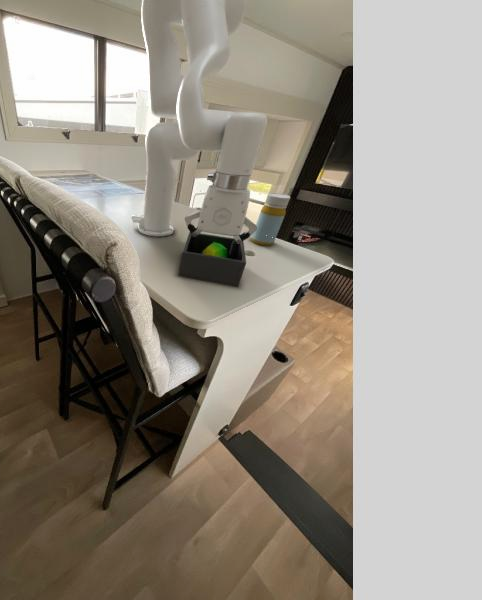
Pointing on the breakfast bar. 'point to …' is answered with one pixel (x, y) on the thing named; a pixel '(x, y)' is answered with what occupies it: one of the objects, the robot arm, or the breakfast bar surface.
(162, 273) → the breakfast bar surface
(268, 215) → the bottle
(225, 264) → the bin
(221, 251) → the apple
